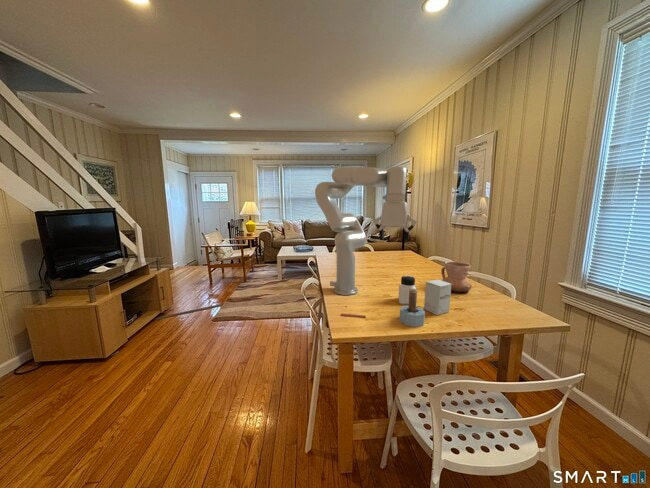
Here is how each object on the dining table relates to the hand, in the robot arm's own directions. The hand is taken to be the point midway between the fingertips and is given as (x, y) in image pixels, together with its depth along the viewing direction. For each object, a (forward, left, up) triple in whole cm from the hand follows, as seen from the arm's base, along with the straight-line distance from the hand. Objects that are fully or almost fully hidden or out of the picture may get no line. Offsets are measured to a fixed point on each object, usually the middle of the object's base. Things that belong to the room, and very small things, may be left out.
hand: (393, 240), depth 105 cm
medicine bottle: (+5, +12, -30) cm, 33 cm away
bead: (+10, -8, -30) cm, 33 cm away
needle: (+10, -8, -30) cm, 33 cm away
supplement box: (+18, +7, -30) cm, 36 cm away
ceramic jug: (+25, +41, -30) cm, 57 cm away
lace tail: (-12, -14, -30) cm, 35 cm away
